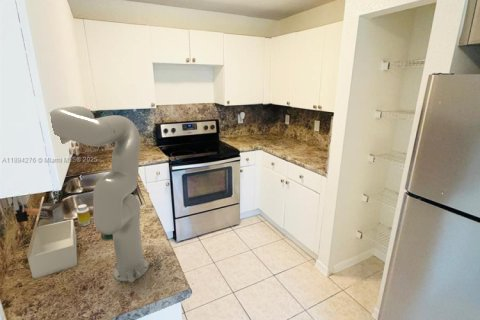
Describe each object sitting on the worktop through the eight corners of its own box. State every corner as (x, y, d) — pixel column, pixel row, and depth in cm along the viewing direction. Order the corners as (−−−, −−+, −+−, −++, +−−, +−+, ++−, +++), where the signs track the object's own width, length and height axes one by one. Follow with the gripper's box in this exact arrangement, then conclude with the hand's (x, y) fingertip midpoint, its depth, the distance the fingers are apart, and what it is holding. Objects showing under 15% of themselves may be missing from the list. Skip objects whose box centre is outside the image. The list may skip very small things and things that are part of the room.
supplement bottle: (92, 223, 134) (89, 205, 132) (80, 227, 131) (77, 209, 128) (89, 220, 138) (86, 202, 135) (77, 223, 134) (74, 206, 131)
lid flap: (38, 220, 92) (18, 219, 89) (28, 256, 93) (8, 256, 90) (44, 196, 112) (27, 195, 109) (36, 226, 113) (19, 225, 110)
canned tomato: (114, 240, 120) (111, 219, 117) (98, 240, 120) (94, 219, 117) (122, 231, 128) (119, 211, 125) (106, 231, 128) (103, 211, 125)
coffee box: (39, 239, 120) (32, 208, 116) (50, 232, 126) (44, 202, 122) (57, 241, 119) (51, 209, 115) (68, 233, 125) (62, 203, 121)
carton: (77, 266, 103) (73, 245, 100) (33, 279, 96) (27, 257, 93) (76, 237, 123) (73, 219, 120) (39, 246, 115) (35, 227, 113)
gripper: (21, 179, 90) (33, 226, 95) (28, 167, 103) (38, 208, 108) (-8, 183, 86) (6, 231, 91) (4, 170, 100) (15, 213, 105)
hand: (23, 218), depth 100 cm, fingers closed on lid flap, 3 cm apart
